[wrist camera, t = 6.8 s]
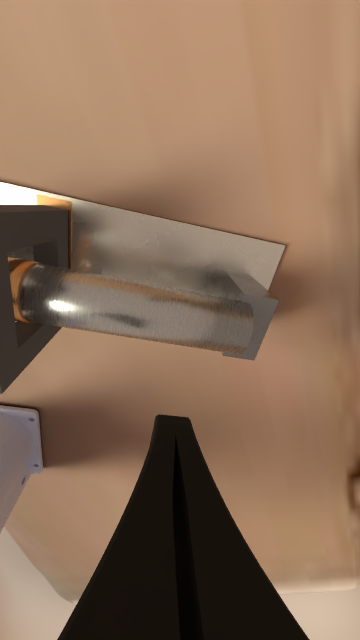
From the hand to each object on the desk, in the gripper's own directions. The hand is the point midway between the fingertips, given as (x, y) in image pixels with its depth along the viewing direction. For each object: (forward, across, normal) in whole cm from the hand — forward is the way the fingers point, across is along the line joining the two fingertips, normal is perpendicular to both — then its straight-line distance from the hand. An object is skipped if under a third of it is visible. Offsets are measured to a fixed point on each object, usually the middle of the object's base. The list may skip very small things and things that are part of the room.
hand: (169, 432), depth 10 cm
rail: (+10, +4, -3) cm, 11 cm away
